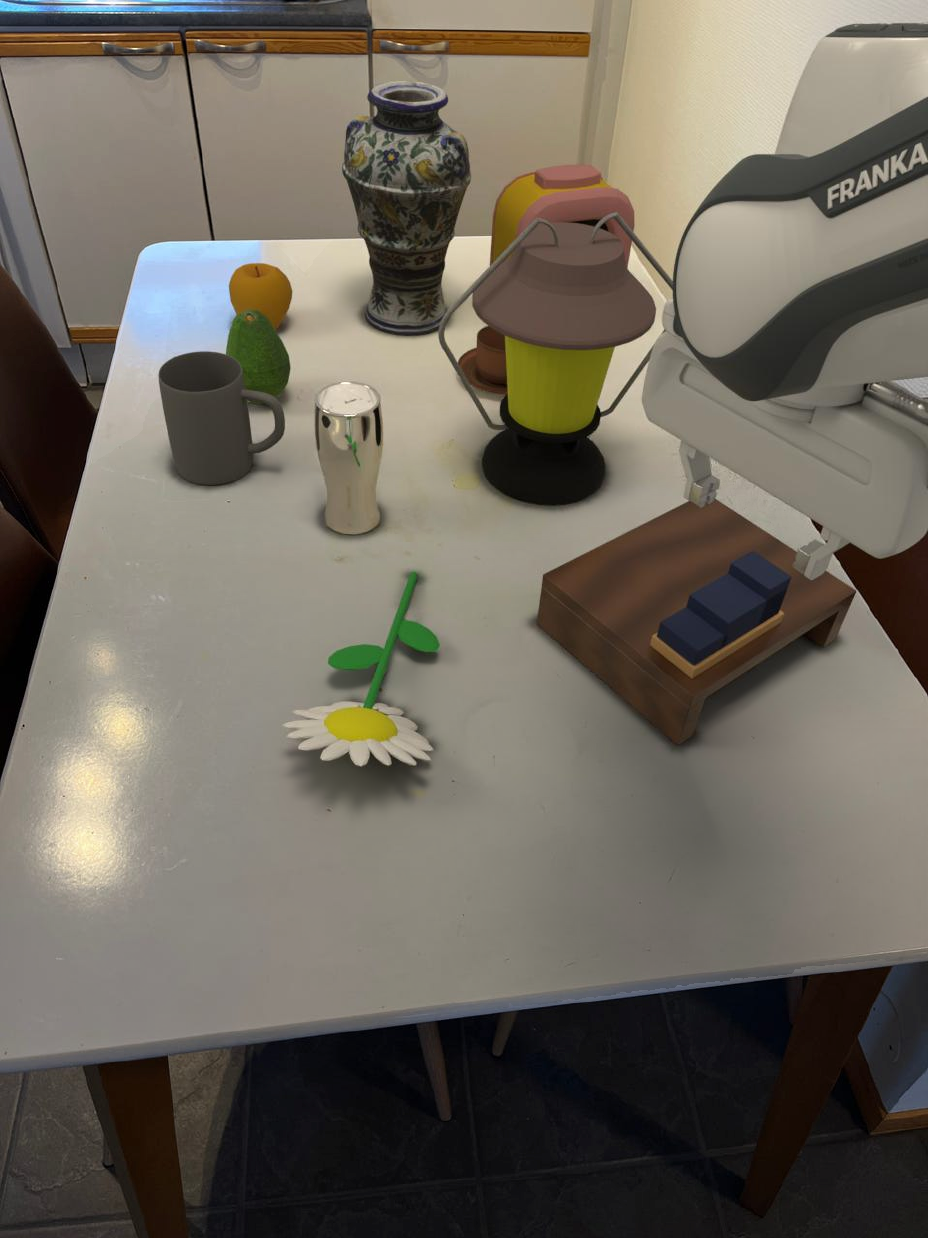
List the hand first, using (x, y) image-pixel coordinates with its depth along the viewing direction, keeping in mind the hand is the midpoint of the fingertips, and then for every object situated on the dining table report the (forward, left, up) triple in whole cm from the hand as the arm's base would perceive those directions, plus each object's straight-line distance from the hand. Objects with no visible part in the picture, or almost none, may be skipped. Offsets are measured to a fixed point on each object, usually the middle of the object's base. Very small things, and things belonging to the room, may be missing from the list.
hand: (751, 534), depth 65 cm
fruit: (+73, -1, -26) cm, 77 cm away
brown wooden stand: (+12, -14, -26) cm, 32 cm away
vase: (+82, -30, -26) cm, 91 cm away
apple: (+90, -11, -26) cm, 94 cm away
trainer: (+6, -10, -20) cm, 23 cm away
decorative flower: (+24, +14, -27) cm, 38 cm away
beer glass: (+46, +3, -26) cm, 53 cm away
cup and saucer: (+60, -30, -26) cm, 72 cm away
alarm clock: (+73, -51, -26) cm, 93 cm away
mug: (+62, +9, -26) cm, 67 cm away
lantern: (+41, -21, -26) cm, 53 cm away
